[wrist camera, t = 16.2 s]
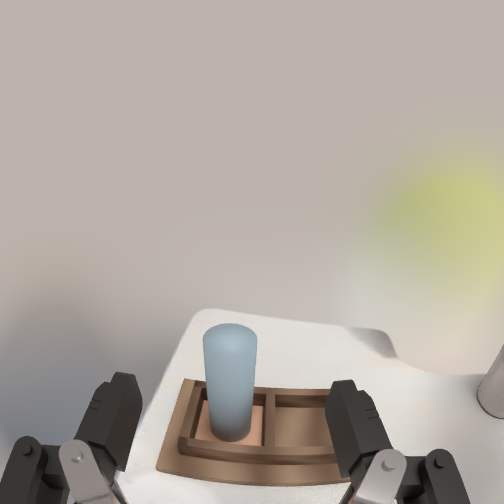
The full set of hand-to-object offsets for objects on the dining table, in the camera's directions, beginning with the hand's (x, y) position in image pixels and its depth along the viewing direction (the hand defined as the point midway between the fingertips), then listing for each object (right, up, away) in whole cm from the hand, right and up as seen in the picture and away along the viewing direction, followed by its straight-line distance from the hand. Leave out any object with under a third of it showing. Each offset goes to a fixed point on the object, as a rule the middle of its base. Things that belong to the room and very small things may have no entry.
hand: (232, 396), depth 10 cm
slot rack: (+2, -15, +17) cm, 23 cm away
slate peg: (-2, -13, +17) cm, 21 cm away
